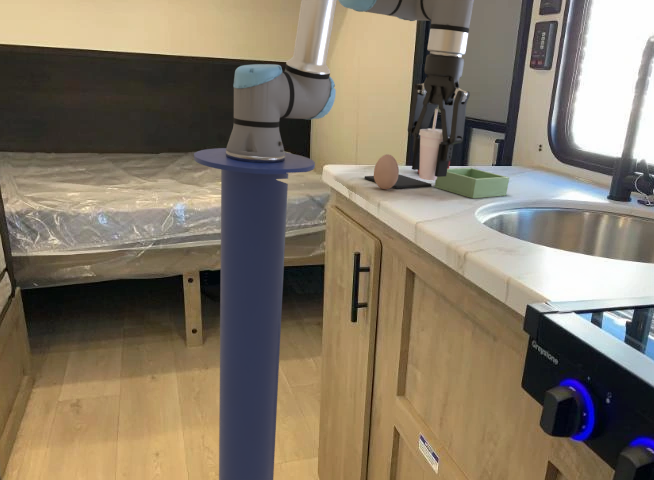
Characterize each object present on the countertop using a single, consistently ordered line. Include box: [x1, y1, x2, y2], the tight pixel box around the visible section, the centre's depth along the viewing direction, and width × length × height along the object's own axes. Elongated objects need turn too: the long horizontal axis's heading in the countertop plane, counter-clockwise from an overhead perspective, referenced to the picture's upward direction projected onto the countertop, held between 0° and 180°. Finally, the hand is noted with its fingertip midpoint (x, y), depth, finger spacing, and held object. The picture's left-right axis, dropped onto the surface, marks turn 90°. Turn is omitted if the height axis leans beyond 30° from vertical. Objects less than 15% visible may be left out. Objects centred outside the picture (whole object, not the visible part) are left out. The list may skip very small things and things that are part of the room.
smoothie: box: [418, 108, 443, 181], centre depth 124 cm, size 6×6×14 cm
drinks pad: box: [364, 174, 433, 190], centre depth 137 cm, size 11×11×1 cm
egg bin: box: [434, 167, 510, 199], centre depth 135 cm, size 12×12×4 cm
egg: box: [373, 153, 400, 190], centre depth 127 cm, size 5×5×7 cm
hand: (428, 172), depth 126 cm, fingers closed on smoothie, 6 cm apart
